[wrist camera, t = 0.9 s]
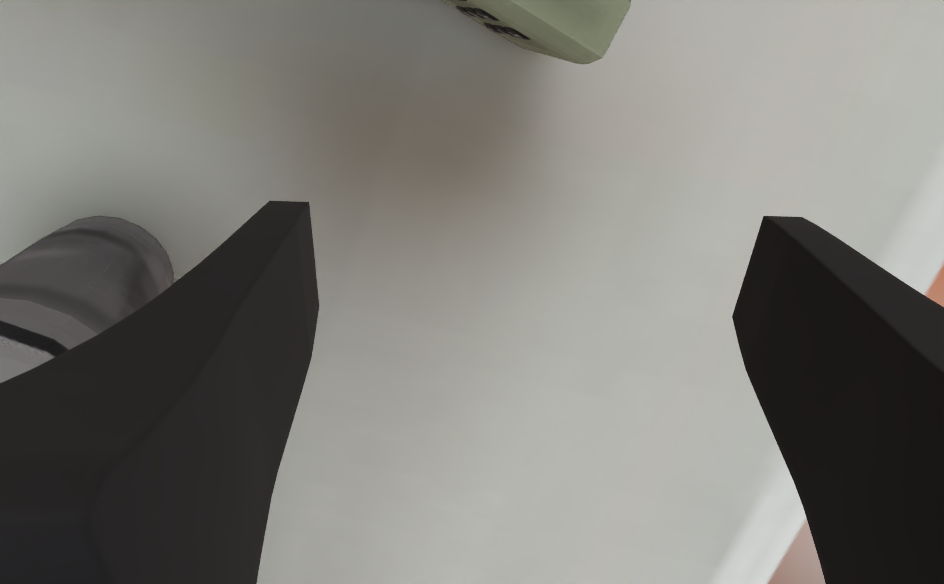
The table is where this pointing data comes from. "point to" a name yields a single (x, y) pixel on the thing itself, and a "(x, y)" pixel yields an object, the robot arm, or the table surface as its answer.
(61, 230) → the beverage cup
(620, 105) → the table surface
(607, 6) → the handheld radio
